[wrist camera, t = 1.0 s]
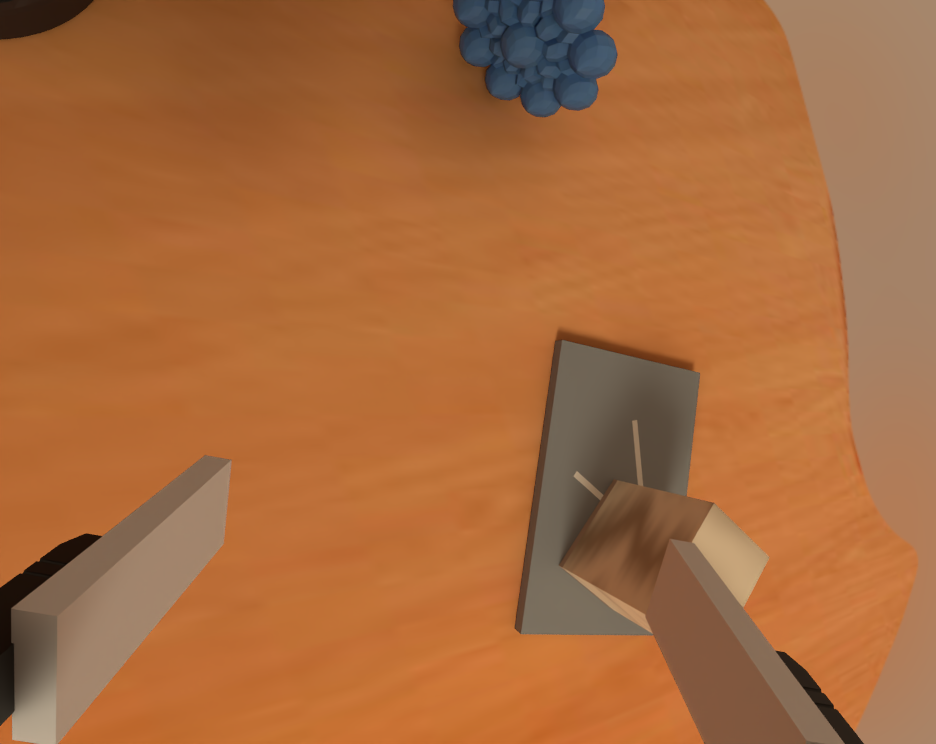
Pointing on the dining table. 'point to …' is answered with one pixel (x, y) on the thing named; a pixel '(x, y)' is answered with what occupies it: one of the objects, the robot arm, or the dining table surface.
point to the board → (598, 471)
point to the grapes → (538, 50)
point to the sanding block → (655, 546)
